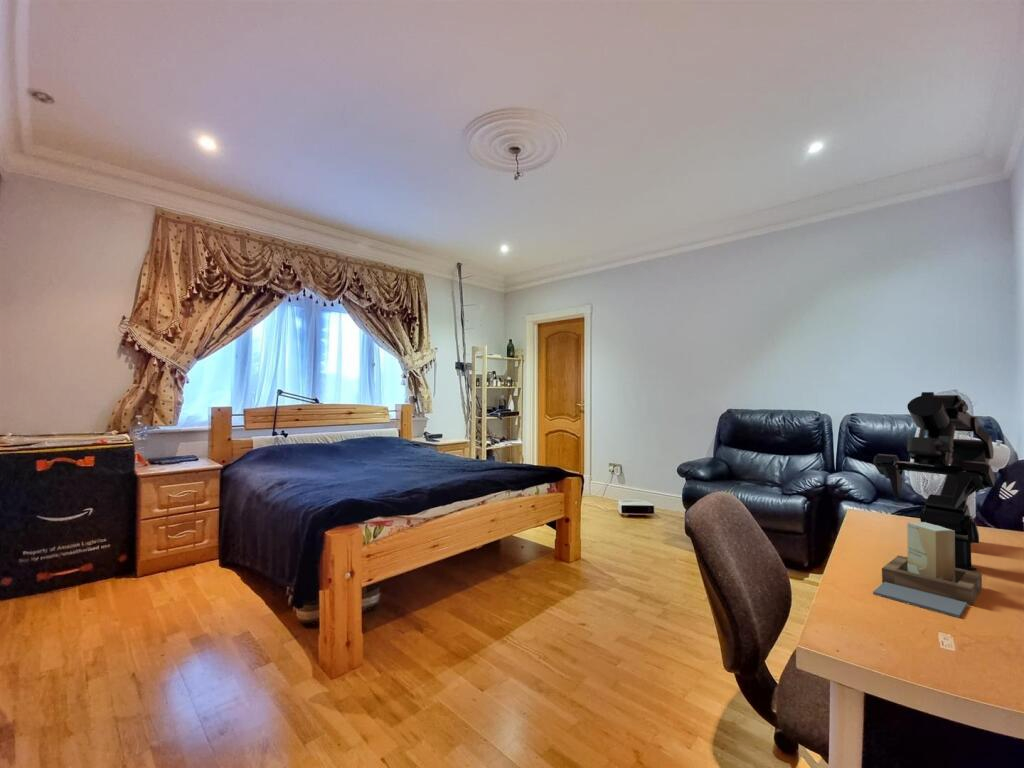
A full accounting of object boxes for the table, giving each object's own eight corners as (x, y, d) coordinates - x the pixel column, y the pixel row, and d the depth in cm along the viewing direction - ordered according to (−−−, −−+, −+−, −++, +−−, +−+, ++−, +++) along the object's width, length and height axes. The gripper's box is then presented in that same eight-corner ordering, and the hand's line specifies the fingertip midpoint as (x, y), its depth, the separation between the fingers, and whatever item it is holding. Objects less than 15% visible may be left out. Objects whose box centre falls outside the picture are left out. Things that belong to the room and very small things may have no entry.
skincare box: (906, 579, 94) (904, 521, 94) (925, 579, 94) (923, 521, 95) (938, 592, 87) (935, 530, 88) (958, 591, 88) (955, 529, 88)
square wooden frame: (898, 568, 100) (898, 555, 100) (982, 588, 90) (981, 573, 90) (882, 582, 92) (881, 568, 92) (971, 605, 82) (970, 589, 82)
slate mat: (884, 584, 91) (884, 581, 91) (967, 605, 82) (967, 602, 82) (873, 594, 87) (873, 591, 87) (959, 618, 77) (959, 615, 77)
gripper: (872, 420, 104) (858, 477, 98) (987, 423, 88) (978, 491, 83) (887, 446, 109) (874, 502, 103) (998, 453, 93) (990, 520, 88)
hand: (923, 503), depth 94 cm, fingers open, 9 cm apart
